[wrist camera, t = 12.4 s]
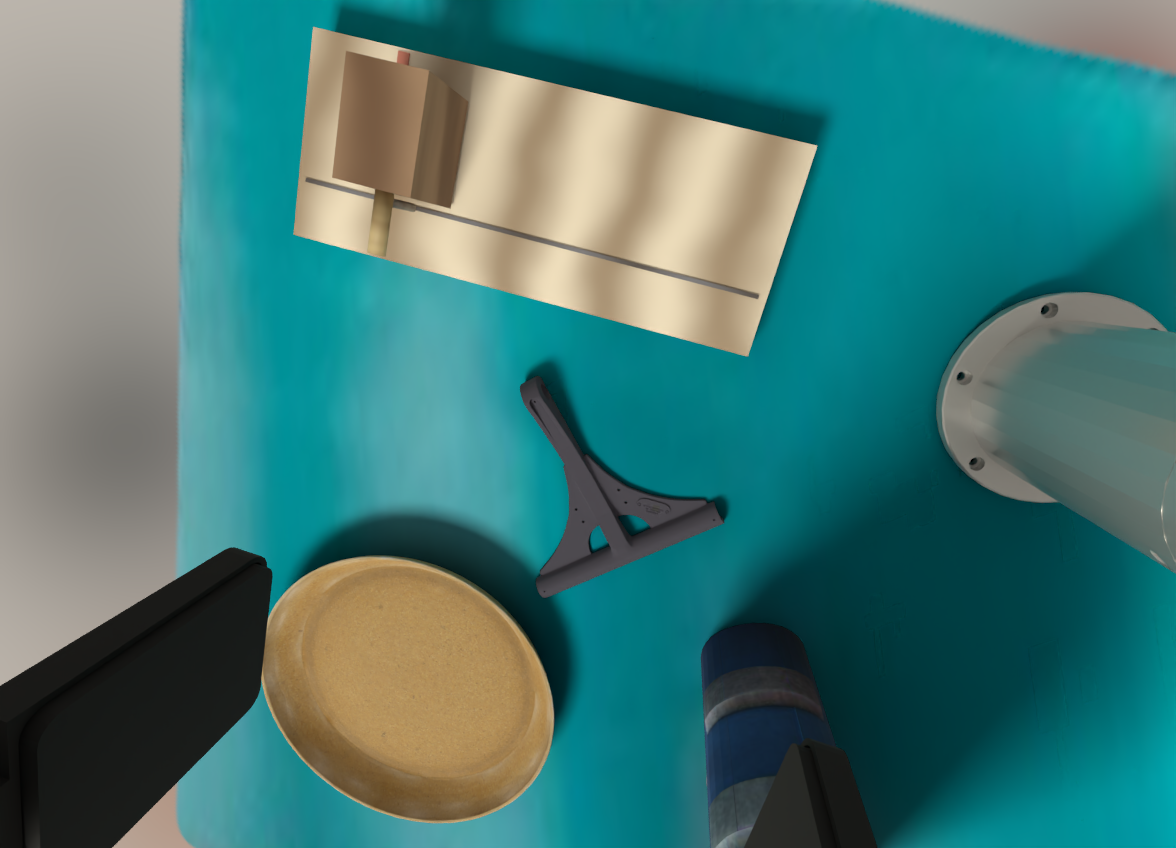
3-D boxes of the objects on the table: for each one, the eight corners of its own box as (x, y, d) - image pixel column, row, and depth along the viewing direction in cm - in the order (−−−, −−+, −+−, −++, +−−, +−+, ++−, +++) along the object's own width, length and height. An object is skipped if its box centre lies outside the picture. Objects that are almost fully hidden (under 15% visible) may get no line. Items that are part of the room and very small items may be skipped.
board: (809, 152, 34) (817, 145, 32) (744, 352, 37) (748, 356, 35) (332, 39, 36) (312, 26, 34) (312, 236, 40) (292, 234, 38)
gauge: (468, 101, 34) (429, 70, 28) (441, 264, 36) (400, 263, 31) (397, 84, 34) (346, 50, 29) (375, 247, 37) (324, 243, 31)
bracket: (625, 328, 39) (620, 332, 36) (723, 517, 41) (726, 534, 38) (450, 421, 42) (435, 431, 40) (549, 589, 45) (540, 610, 42)
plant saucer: (328, 792, 53) (306, 825, 50) (248, 551, 47) (217, 571, 44) (586, 789, 48) (580, 825, 45) (530, 522, 43) (518, 542, 40)
